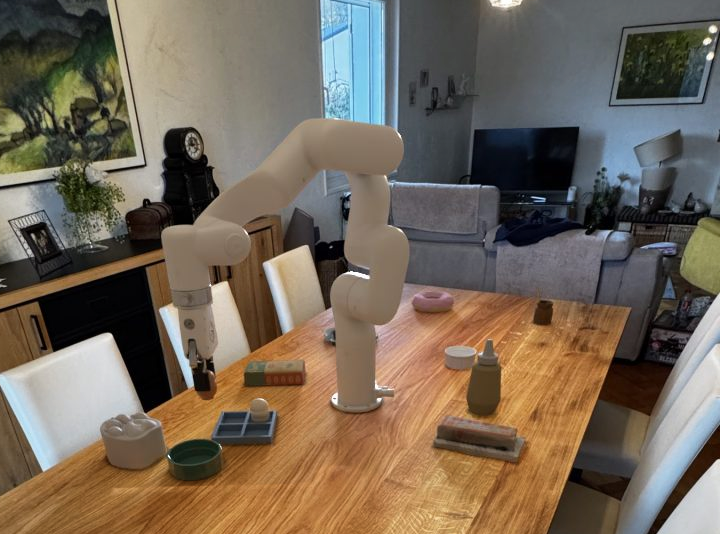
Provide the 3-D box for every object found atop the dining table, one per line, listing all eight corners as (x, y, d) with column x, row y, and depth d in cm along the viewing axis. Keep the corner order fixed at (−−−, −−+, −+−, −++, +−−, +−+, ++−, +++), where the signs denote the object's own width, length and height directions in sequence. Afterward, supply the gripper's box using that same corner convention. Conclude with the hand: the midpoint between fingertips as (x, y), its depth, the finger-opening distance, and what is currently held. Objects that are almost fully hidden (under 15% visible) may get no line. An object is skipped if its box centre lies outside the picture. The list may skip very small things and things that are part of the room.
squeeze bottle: (502, 407, 139) (511, 335, 130) (495, 421, 133) (504, 347, 124) (469, 402, 142) (476, 332, 133) (460, 415, 136) (467, 343, 127)
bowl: (227, 454, 124) (225, 438, 122) (218, 481, 114) (215, 464, 112) (177, 455, 124) (174, 439, 122) (164, 483, 115) (160, 466, 113)
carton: (303, 385, 154) (302, 370, 152) (244, 386, 155) (242, 371, 153) (305, 373, 162) (304, 358, 159) (249, 374, 162) (247, 360, 160)
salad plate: (315, 330, 193) (314, 317, 191) (366, 325, 196) (366, 312, 194) (327, 350, 177) (326, 335, 175) (382, 344, 180) (382, 329, 178)
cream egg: (271, 418, 137) (268, 394, 134) (269, 427, 133) (266, 402, 130) (253, 419, 137) (250, 395, 134) (250, 427, 133) (247, 403, 130)
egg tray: (277, 417, 138) (276, 410, 137) (271, 444, 127) (270, 436, 126) (222, 418, 139) (221, 411, 138) (212, 445, 127) (210, 438, 126)
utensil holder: (553, 325, 191) (559, 288, 184) (534, 325, 191) (540, 289, 184) (548, 319, 196) (554, 284, 189) (529, 320, 196) (534, 284, 190)
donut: (410, 314, 206) (410, 300, 203) (412, 302, 219) (412, 289, 216) (454, 315, 203) (455, 301, 201) (453, 303, 216) (454, 289, 214)
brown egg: (220, 393, 121) (216, 365, 118) (216, 402, 117) (212, 373, 114) (199, 393, 121) (195, 366, 118) (194, 402, 117) (190, 374, 114)
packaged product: (432, 427, 121) (446, 408, 129) (431, 447, 124) (444, 427, 131) (519, 443, 114) (528, 422, 122) (516, 464, 117) (525, 442, 124)
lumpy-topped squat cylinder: (139, 473, 118) (130, 436, 114) (95, 459, 124) (84, 424, 119) (173, 450, 126) (166, 415, 121) (130, 438, 131) (121, 404, 127)
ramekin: (440, 369, 161) (441, 354, 159) (447, 358, 168) (448, 344, 166) (472, 372, 158) (473, 357, 156) (477, 361, 165) (479, 347, 163)
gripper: (202, 308, 101) (216, 402, 110) (220, 284, 115) (231, 369, 125) (159, 309, 101) (177, 403, 110) (183, 285, 115) (196, 370, 125)
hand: (205, 384), depth 117 cm, fingers closed on brown egg, 4 cm apart
